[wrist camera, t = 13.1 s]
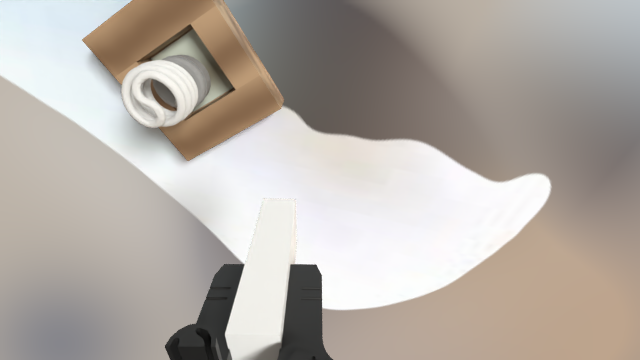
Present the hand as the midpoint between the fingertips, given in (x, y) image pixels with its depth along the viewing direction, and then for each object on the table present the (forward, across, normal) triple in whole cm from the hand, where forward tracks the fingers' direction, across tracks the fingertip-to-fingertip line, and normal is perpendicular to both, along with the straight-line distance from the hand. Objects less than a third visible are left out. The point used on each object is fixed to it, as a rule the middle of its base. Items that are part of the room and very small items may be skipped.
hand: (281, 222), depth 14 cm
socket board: (+27, -13, +2) cm, 29 cm away
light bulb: (+26, -13, +2) cm, 29 cm away
